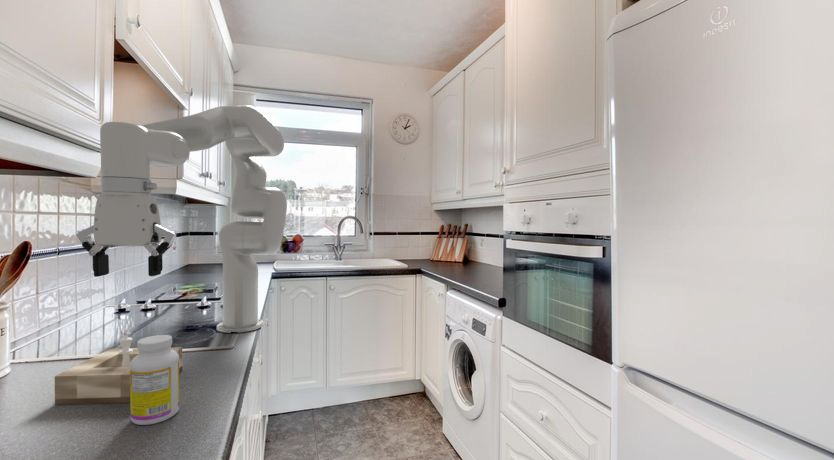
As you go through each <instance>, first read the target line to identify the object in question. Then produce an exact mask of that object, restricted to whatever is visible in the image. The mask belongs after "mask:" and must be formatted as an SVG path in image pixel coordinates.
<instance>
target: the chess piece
mask: <svg viewBox="0 0 834 460" xmlns="http://www.w3.org/2000/svg"><path fill="white" fill-rule="evenodd" d="M131 334H132V332H131V331H129V328H124V329H123V331H121V335H124V336H123V337H121V338H120V339H119V343H120V345H121V348H123V350H121V351H120V352H119V354H123V360H122V366H121V367H130V356H129V353H131V352H133V349H130V348H131V344H132V343H133V337H130V336H131Z"/></svg>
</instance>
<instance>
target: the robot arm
mask: <svg viewBox="0 0 834 460" xmlns="http://www.w3.org/2000/svg"><path fill="white" fill-rule="evenodd" d="M99 130H100V131H99V136H100V137H99V138H100V139H99V141H100V145H99V146H100V177H101V178H100V181H101V186H100V187H101V194H98V195H97V199H96V204H95V210H94V217H93V225H91V226H88V227H86V228H84V229H82V230H80V231H78V232H77V233H76V236H77V238H78V240H79V242H80V243H81V247H83V249H85V250H86V252H88V255H89V256H91V257H92V271H93V277H102V276H107V275H108V274H109V273H110V259H109V258H110V257H109V254H107V253H106V252H107V251H108V250H109V249H110V248H111V247H144V248H145V249H146V250H147V251H148V252H149V253H150V255H149V256H148V257H147V259H148V260H147V262H148V263H147V265H148V270H147V271H148V276H149V277H156V276H159V275H161V274H162V271H163V268H164V266H163V255H165V254H166V252H167V251H168V250H169V249H170V248H171V247H172V246H173V243H174V241H175V239H176V237H177V233H176V232H174V231H172V230H170V229H168V228H165V227H164V226H162V225H161V224H162V223H161V218H160V217H161V215H160V210H159V205H158V201H157V198H156V196H155V195H151V194H152V191H155V190H157V189H158V186H157V185H158V184H157V183H156V182H152V180H151V167H153V168H154V167H155V168H172V167H173V168H174V167H178V166H182V165H183V164H184V163H186V162H187V160H188V159H189V157H190V153H191V152H200V151H205V150H208V149H211V148H213V147H215V146H218V145H219V144H222V143H224V142H225V145H226V148H227V150H228V153H229V154H230V156H231V158H232V160H233V162H234V164H235V168H236V178H235V183H234V188H233V191H232V199H231V211H232V213H233V215H234V216H236V217H238V218H240V219H241V218H243V219H254V220H255V219H258V220H259V219H260V220H263V221H248V220H247V221H244V220H243V221H241V220H240V221H230V222H228V223H225V224H224V225H223V226H222V227H221V228H220V231H219V234H218V241H219V247H220V251H221V258H222V259H221V260H222V321H221V322H219V323H218V324H216V331H217V332H220V333H226V334H232V333H231V332H238V333H246V332H252V331H255V330H258V329H261V328H262V327H263V326H264V320H262V319H260V318H259V308H258V307H259V290H258V289H259V267H258V263H257V261H256V260H255V258H254V256H253V255H273V254H275V253H277V252H278V251H279V250H280V248H281V246H282V242H283V237H284V231H285V224H286V218H287V211H288V209H287V208H288V203H287V196H286V195H285V193H284V192H283V190H281V189H280V188H277V187H270V186H269V187H267V186H266V184H267V178H268V177H267V172H266V170H265V168H264V166H263V165H262V163H261V162H260V161H259V159H257V157H277V156H279V155H280V154H281V153H283V151H284V147H285V141H284V137H283V135H282V132H281V131H280V130H279V129H278V127H276V125H275V124H274V123H273V122H272V121H271V120H270V119H269V118H268V117H267V115H265V114H264V113H263V112H262V111H260V110H259V109H258V108H256V107H254V106H252V105H222V106H215V107H212V108H210V109H206V110H203V111H200V112H198V113H193V114H191V115H186V116H181V117H180V116H179V117H176V118H171V119H168V120H162V121H157V122H152V123H147V124H144V125H143V124H142V125H139V124H136V123H130V122H124V121H123V122H121V121H107V122H104V123H103V124H102V125H101V127H100V129H99ZM92 236H93V238H94V239H93V240H94V241H93V240H92ZM162 236H163V237H164V239H163V241H162ZM160 242H161V243H160ZM238 333H237V334H238Z"/></svg>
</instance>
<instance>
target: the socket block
mask: <svg viewBox="0 0 834 460" xmlns="http://www.w3.org/2000/svg"><path fill="white" fill-rule="evenodd" d="M130 349H133V352H131V353H129V356H130V363H131V361H132V360H133V358H134V357H136V356H137V355H139V351H138V349H137V347H130ZM121 350H123V348H122V347H117V348H116V347H115V348H110V349H107V350H105V351H104V352H101V353H100V354H97V355H95V356H93V357H91V358H89V359H87V360H85V361H83V362H80V363H79V364H77V365H75V366H72V367H70V368H69V369H67V370H64V371H63V372H61V373H58V374H56V375H55V376H54V406H55V405H56V406H58V405H59V406H60V405H62V406H63V405H66V406H67V405H85V404H86V405H91V404H120V403H121V404H123V403H130V367H121V366H122V360H123V354H119V352H120V351H121ZM171 350H174V351H176V352H177V353H178V355H179V374H180V373H181V372H183V347H182V346H178V347H172V346H171Z"/></svg>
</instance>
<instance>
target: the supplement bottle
mask: <svg viewBox="0 0 834 460" xmlns="http://www.w3.org/2000/svg"><path fill="white" fill-rule="evenodd" d="M136 343H137V345H136V346H137V347H136V348H137V349H138V351H139V355H137V356H136V357H134V358H133V360H132V361H131V363H130V402H129V403H130V420H131V422H132V423H133V424H135V425H140V426H148V425H155V424H158V423H162V422H164V421H165V422H166V421H167V420H168V419H170V418H172V417H173V416H175V415H176V414H177V413H178V412H179V409H180V373H179V355H178V353H177V352H176V351H174V350H171V347H172V344H173V336H172V335H170V334H158V335H151V336H150V335H149V336H146V337H142V338H140V339H138V341H137V342H136Z"/></svg>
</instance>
